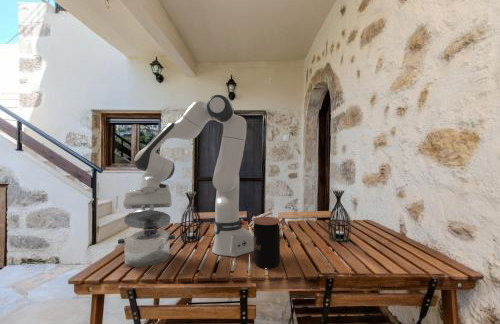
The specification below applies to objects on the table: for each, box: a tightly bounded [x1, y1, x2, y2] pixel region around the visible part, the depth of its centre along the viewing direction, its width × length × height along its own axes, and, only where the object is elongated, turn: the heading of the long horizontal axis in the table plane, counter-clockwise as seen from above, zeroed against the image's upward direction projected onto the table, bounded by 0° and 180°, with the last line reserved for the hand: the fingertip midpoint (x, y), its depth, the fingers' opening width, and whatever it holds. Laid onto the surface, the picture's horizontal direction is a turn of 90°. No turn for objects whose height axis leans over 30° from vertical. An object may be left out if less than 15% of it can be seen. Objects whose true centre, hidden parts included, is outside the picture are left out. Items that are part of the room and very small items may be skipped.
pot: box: [117, 229, 176, 268], centre depth 108 cm, size 18×23×10 cm
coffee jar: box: [253, 216, 281, 269], centre depth 101 cm, size 11×11×18 cm
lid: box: [123, 209, 171, 231], centre depth 110 cm, size 20×19×3 cm
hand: (146, 215), depth 107 cm, fingers closed
